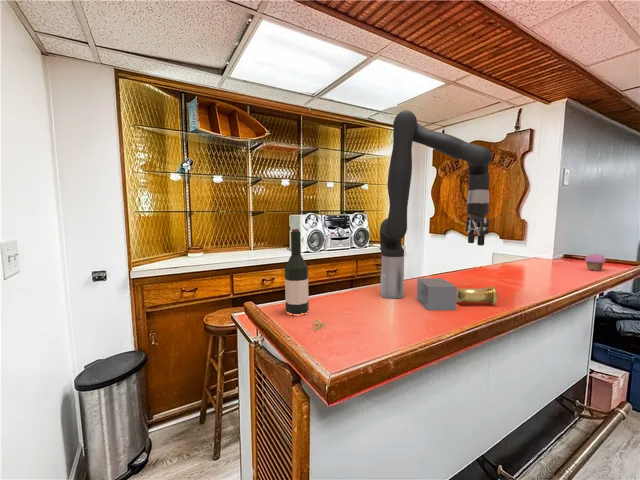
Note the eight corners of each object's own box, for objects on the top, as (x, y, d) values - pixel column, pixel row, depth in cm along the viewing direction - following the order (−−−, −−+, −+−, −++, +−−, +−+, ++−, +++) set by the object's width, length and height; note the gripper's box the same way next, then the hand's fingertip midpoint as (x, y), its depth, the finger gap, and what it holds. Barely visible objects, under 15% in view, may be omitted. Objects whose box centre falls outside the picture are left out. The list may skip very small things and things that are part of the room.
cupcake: (608, 271, 170) (609, 254, 170) (598, 272, 168) (599, 254, 167) (590, 268, 179) (591, 252, 178) (580, 269, 177) (581, 253, 176)
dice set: (317, 325, 96) (317, 319, 96) (328, 329, 92) (328, 323, 92) (305, 329, 93) (305, 323, 92) (316, 334, 89) (316, 328, 89)
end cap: (461, 305, 110) (461, 289, 110) (454, 300, 117) (454, 284, 116) (497, 306, 110) (497, 289, 109) (488, 301, 116) (488, 284, 115)
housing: (427, 310, 107) (428, 286, 107) (417, 299, 121) (417, 278, 120) (455, 310, 107) (456, 286, 106) (442, 299, 121) (442, 278, 120)
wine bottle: (300, 318, 101) (298, 230, 98) (280, 314, 105) (278, 229, 103) (313, 311, 108) (312, 228, 106) (295, 307, 113) (293, 228, 110)
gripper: (460, 203, 122) (458, 242, 123) (475, 201, 107) (473, 246, 109) (479, 203, 121) (477, 242, 122) (497, 201, 107) (494, 246, 108)
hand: (475, 244), depth 116 cm, fingers open, 8 cm apart
